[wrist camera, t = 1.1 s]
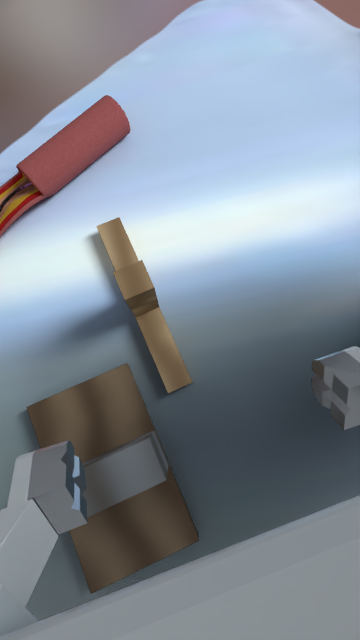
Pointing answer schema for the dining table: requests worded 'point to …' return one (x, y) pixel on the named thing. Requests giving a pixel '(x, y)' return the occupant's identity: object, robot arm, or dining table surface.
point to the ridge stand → (117, 476)
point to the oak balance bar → (144, 304)
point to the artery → (62, 158)
